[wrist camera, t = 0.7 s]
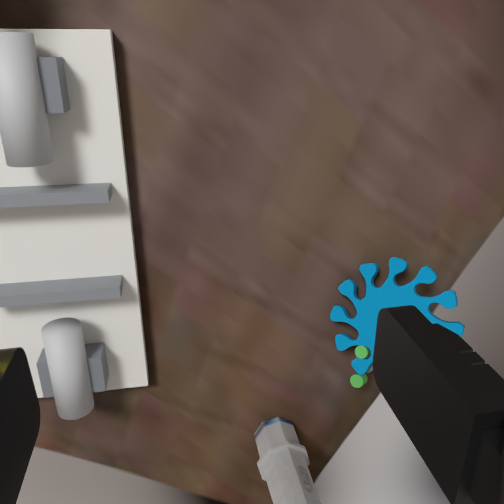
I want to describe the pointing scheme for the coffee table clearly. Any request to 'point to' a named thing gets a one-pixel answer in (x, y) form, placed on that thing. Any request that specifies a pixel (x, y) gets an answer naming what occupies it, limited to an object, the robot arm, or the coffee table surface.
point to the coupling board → (67, 218)
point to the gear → (381, 299)
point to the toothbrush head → (284, 463)
